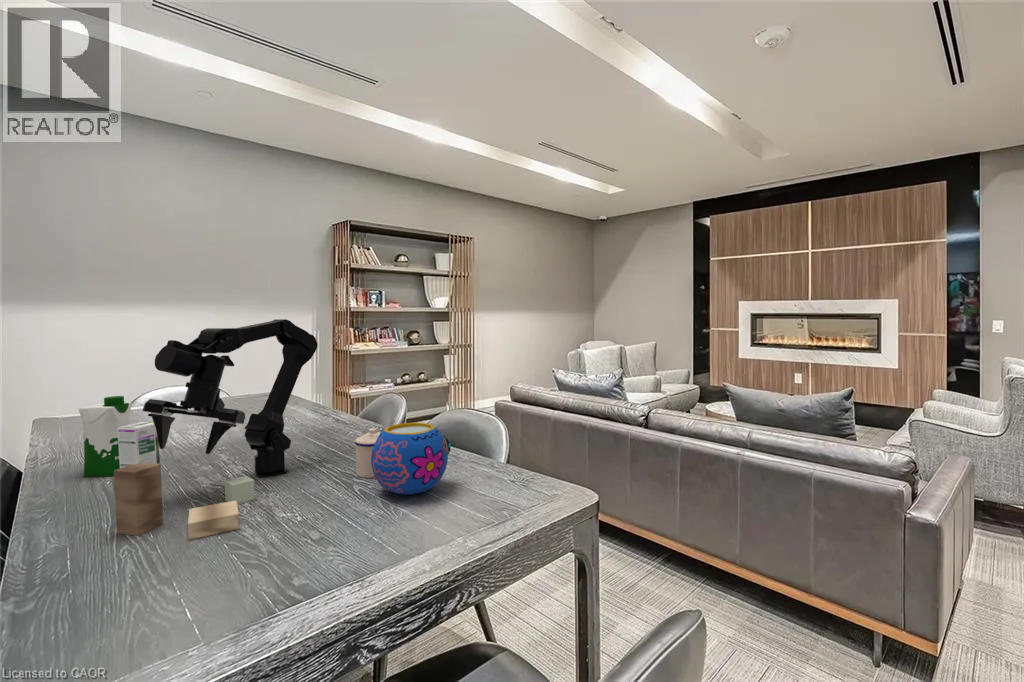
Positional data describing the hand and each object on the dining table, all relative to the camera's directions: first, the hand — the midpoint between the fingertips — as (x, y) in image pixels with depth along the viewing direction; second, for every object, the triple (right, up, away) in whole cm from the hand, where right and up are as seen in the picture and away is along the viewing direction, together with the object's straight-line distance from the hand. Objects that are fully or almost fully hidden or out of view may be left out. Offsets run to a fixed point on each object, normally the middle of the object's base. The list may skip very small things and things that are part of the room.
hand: (184, 451), depth 102 cm
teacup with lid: (+34, -11, +22) cm, 42 cm away
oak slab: (+13, -12, -11) cm, 21 cm away
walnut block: (-1, -12, -11) cm, 17 cm away
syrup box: (-21, -11, +14) cm, 28 cm away
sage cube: (+10, -12, +3) cm, 16 cm away
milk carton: (-35, -11, +22) cm, 43 cm away
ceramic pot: (+48, -11, +8) cm, 50 cm away
